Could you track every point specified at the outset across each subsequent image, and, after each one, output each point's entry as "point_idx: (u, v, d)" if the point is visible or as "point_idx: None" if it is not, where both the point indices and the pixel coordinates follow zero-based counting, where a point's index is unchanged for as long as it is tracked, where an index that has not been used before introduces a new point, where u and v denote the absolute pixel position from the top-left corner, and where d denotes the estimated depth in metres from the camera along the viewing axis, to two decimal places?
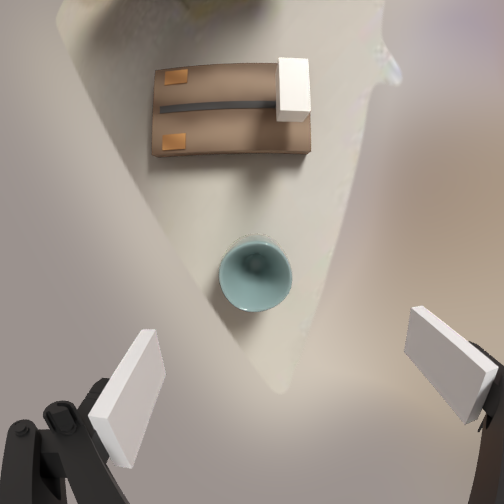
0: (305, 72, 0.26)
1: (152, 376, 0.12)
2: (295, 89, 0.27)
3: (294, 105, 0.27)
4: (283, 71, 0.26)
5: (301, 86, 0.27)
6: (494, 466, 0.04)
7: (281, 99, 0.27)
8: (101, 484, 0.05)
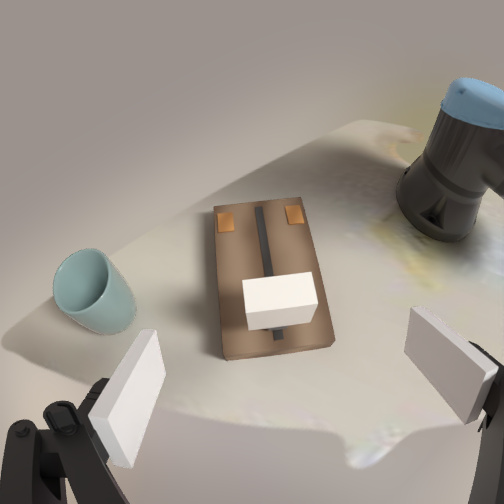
0: (298, 302, 0.25)
1: (152, 376, 0.12)
2: (271, 293, 0.25)
3: (250, 294, 0.25)
4: (292, 278, 0.26)
5: (276, 299, 0.25)
6: (494, 466, 0.04)
7: (255, 280, 0.26)
8: (101, 484, 0.05)
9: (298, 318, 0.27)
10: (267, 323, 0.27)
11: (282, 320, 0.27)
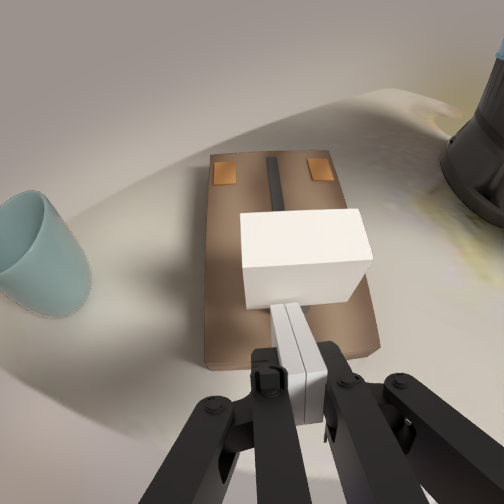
0: (339, 255, 0.13)
1: None
2: (291, 237, 0.14)
3: (253, 236, 0.14)
4: (328, 216, 0.15)
5: (300, 248, 0.14)
6: (363, 490, 0.05)
7: (264, 214, 0.15)
8: (288, 449, 0.07)
9: (331, 292, 0.16)
10: (279, 297, 0.16)
11: (305, 293, 0.16)
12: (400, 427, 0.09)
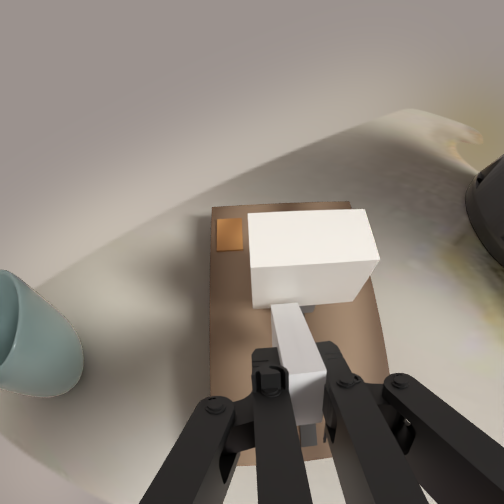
0: (347, 255, 0.13)
1: None
2: (298, 237, 0.14)
3: (261, 236, 0.14)
4: (335, 216, 0.15)
5: (308, 248, 0.14)
6: (363, 490, 0.05)
7: (271, 214, 0.15)
8: (289, 449, 0.07)
9: (337, 291, 0.16)
10: (285, 296, 0.16)
11: (311, 292, 0.16)
12: (399, 427, 0.09)
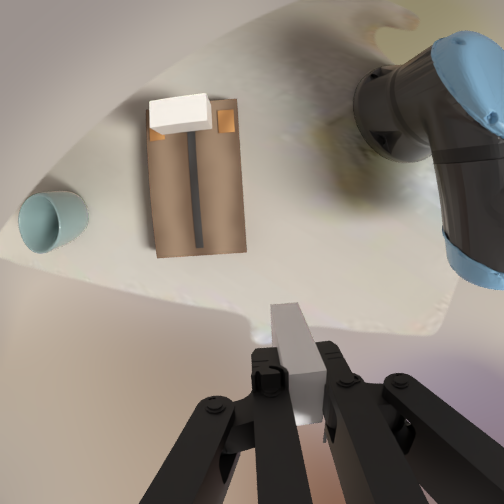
0: (191, 118, 0.28)
1: None
2: (170, 111, 0.28)
3: (154, 112, 0.28)
4: (189, 98, 0.28)
5: (174, 116, 0.28)
6: (363, 490, 0.05)
7: (159, 100, 0.27)
8: (289, 449, 0.07)
9: (198, 127, 0.31)
10: (173, 130, 0.31)
11: (185, 128, 0.31)
12: (399, 427, 0.09)
